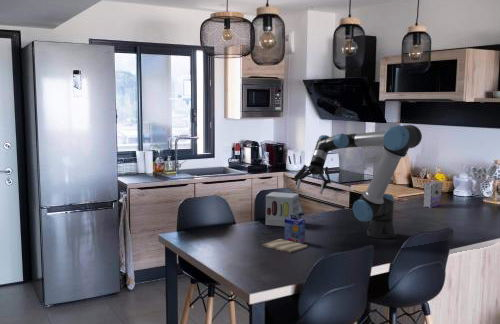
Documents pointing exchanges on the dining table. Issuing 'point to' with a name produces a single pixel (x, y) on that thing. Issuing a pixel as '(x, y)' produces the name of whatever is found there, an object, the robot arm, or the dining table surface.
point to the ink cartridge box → (295, 229)
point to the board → (285, 245)
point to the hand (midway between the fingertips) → (308, 191)
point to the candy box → (432, 194)
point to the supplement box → (281, 207)
